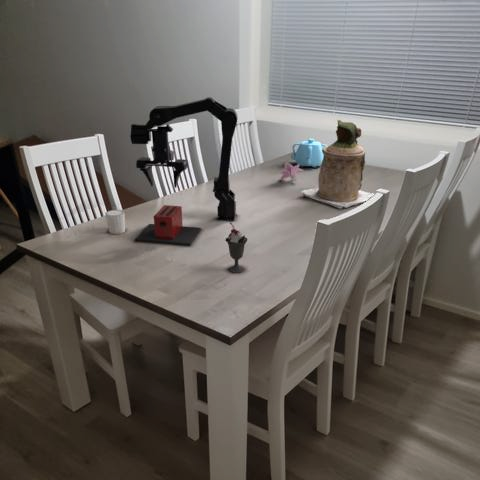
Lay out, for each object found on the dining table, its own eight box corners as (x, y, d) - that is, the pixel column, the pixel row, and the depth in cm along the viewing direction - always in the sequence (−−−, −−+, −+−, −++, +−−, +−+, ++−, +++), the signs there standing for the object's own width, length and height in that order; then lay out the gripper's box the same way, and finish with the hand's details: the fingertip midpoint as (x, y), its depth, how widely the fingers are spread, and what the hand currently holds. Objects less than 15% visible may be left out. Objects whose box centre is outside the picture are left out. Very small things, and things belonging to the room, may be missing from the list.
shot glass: (130, 229, 178) (128, 210, 174) (120, 235, 172) (118, 216, 168) (114, 226, 180) (111, 208, 176) (104, 233, 174) (101, 214, 170)
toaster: (172, 240, 166) (170, 218, 162) (154, 239, 167) (152, 216, 163) (182, 227, 177) (181, 205, 173) (165, 225, 178) (164, 204, 174)
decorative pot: (305, 170, 250) (307, 143, 242) (288, 163, 262) (289, 137, 254) (329, 167, 256) (332, 140, 249) (312, 160, 268) (314, 134, 261)
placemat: (201, 230, 177) (200, 227, 177) (190, 245, 165) (190, 243, 164) (149, 226, 180) (149, 223, 180) (135, 241, 168) (134, 238, 167)
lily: (307, 183, 233) (303, 163, 232) (302, 179, 222) (298, 159, 221) (283, 189, 237) (280, 169, 236) (277, 186, 226) (274, 165, 225)
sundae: (224, 265, 152) (224, 220, 144) (245, 264, 152) (246, 219, 144) (226, 274, 146) (225, 228, 138) (247, 273, 147) (248, 227, 139)
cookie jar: (342, 210, 197) (352, 128, 180) (298, 196, 213) (304, 119, 196) (377, 198, 211) (390, 121, 194) (334, 186, 226) (342, 113, 209)
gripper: (191, 140, 180) (193, 182, 188) (144, 138, 182) (147, 179, 191) (182, 147, 170) (185, 190, 179) (133, 144, 173) (137, 187, 181)
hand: (163, 186), depth 183 cm, fingers open, 9 cm apart
